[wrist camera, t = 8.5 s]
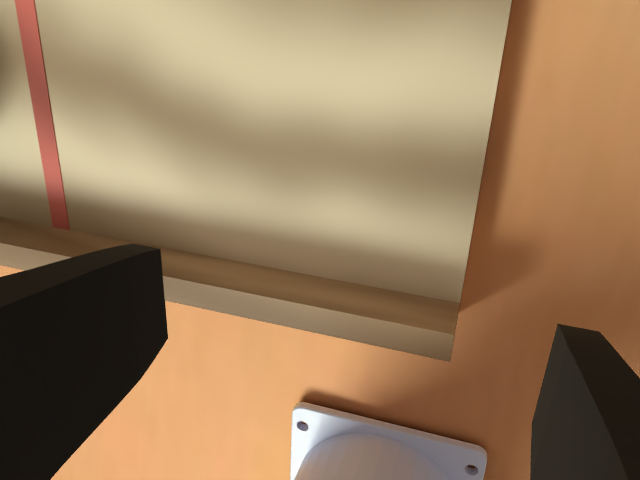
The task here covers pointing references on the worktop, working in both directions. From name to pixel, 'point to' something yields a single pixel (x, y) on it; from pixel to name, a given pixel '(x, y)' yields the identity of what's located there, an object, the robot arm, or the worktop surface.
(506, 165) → the worktop surface
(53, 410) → the robot arm
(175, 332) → the worktop surface
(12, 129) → the lane
